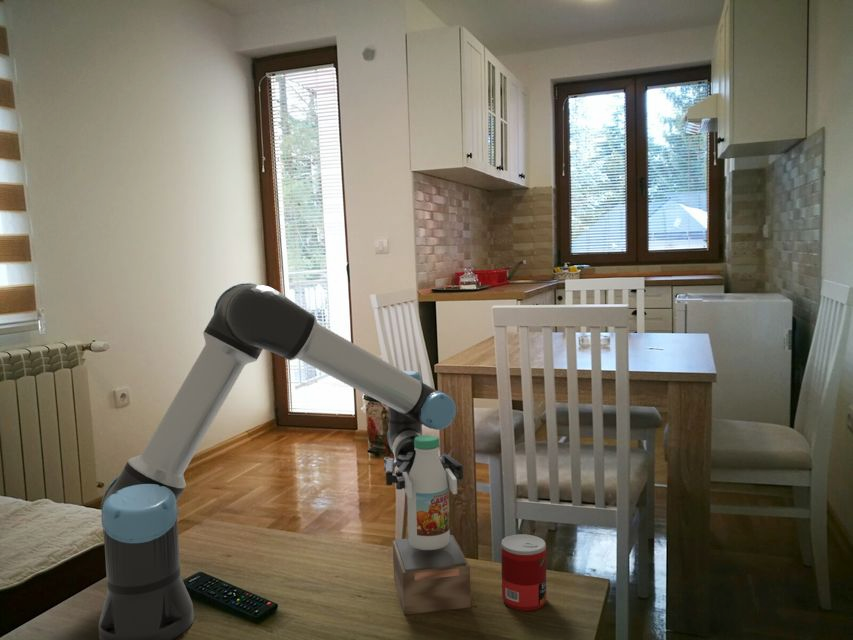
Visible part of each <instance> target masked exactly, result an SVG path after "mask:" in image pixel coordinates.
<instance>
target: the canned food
mask: <svg viewBox="0 0 853 640" xmlns="http://www.w3.org/2000/svg"><path fill="white" fill-rule="evenodd" d="M546 545H547V544H546V542H545V540H544V539H542V538H541V537H539V536H536V535H532V534H524V533H523V534H521V533H520V534H512V535H508V536H505V537H504V538H502V539H501V545H500V547H501V548H500V549H501V550H500V553H501V555H500V557H501V558H500V559H501V561H500V563H501V564H500V565H501V598H502V599H503V600H502V601H503V602H504V604H505V605H506V606H508V607H509V608H511V609H513V610H516V611H521V612H522V611H524V612H530V611H535V610H539V609H541V608H543V606H545V604H546V601H547V546H546Z"/></svg>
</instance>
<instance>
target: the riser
mask: <svg viewBox="0 0 853 640" xmlns="http://www.w3.org/2000/svg"><path fill="white" fill-rule="evenodd" d="M392 553H393V555H392V556H393V557H392V560H393V563H392V564H393V579H394V583H395V586H396V591H397V594H398V597H399V602H400V605H401V608H402V613H403V615H404V616H405V615H414V614H415V615H416V614H423V613H432V612H440V611H447V610H448V611H449V610H455V609H456V610H459V609H465V608H466V609H467V608H471V607H472V606H471V568H470V567H471V566H470V564H469V561H468V560H467V559H466V557H465V555H464V553H463V551H462V549H461V547H460V545H459V544H458V542H457V540H456V538H455V536H454V534H451V533H450V541H449V543H448V545H446V546H445V547H443V548H441V549H436V550H420V549H416V548H414V547H412V546H411V545H410V543H409V538H407V537H406V538H400V539H394V540H392Z"/></svg>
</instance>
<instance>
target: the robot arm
mask: <svg viewBox="0 0 853 640" xmlns="http://www.w3.org/2000/svg"><path fill="white" fill-rule="evenodd" d="M202 335H203V338H204V341H205V343H204V346H203V348H202V350H201V352H200V353H199V355H198V357H197V359H196V360H195V362H194V364H193V365H192V367H191V368H190V371H189V372H188V373H187V376H186V377H185V379H184V381H183V382H182V383H181V386H180V388H179V389H178V391H177V393H176V394H175V396H174V398H173V400H172V402H171V403H170V405H169V407H168V408H167V410H166V412H165V413H164V415H163V417H162V418H161V419H160V422H159V423H158V425H157V427H156V429H155V431H154V432H153V434H152V436H151V437H150V439H149V441H148V443H147V444H146V446H145V447H144V450H143V451H142V453H141V454H140V455H136V456H133V457H131V458H129V459H128V460H127V461H126V462H127V463H126V464H125V465H124V467H123V468H122V471H121V472H120V473H119V475H118V476H117V477H116V478H114V479H113V480H112V481H111V483H110V484H109V485H108V486H107V488H106V490H105V491H104V494H103V496H102V500H101V505H100V507H101V509H100V510H101V517H100V518H101V519H100V521H101V525H102V526H101V527H102V528H103V529H102V530H103V542H104V555H105V556H104V558H105V571H106V572H105V573H106V583H107V587H106V588H107V590H106V591H107V592H106V595H105V596H106V597H105V599H104V603H103V606H102V611H101V614H100V617H99V621H98V638H99V639H98V640H174V639H176V638H177V637H179V636H181V635H182V634H184V633H185V632H186V631H187V630H188V629H189V628H190V627H191V625H192V624H193V622H194V618H195V615H194V605H193V601H192V598H191V596H190V593H189V592H188V590H187V588H186V585H185V583H184V580H183V578H182V575H181V561H180V545H179V542H180V541H179V529H178V526H179V525H178V515H179V506H178V503H177V502H178V500H179V498H180V496H181V495H182V493H183V491H184V489H185V488H186V486H187V484H186V481H185V476H184V473H185V471H186V470H187V468H188V466H189V465H190V462H191V461H192V459H193V457H194V455H195V453H196V452H197V450H198V449H199V446H200V444H201V443H202V442H203V440H204V438H205V437H206V435H207V432H208V431H209V429H210V428H211V425H212V424H213V423H214V421H215V419H216V418H217V417H216V416H217V415H218V414H219V412H220V410H221V408H222V406H223V405H224V403H225V401H226V399H228V398H227V397H228V395H229V394H230V392H231V391H232V390H233V389H232V388H233V387H234V385H235V384H236V382H237V380H238V379H239V377H240V375H241V373H242V371H243V369H244V368H245V366H246V365H248V364H250V363H254V362H256V361H257V360H258V359H259V356H260V355H261V353H262V352H263V350H265V351H268V352H270V353H273V354H276V355H278V356H280V357H282V358H284V359H286V360H288V361H294V360H296V359H297V360H299V361H302V362H303V363H305V364H307V365H309V366H310V367H313V368H315V369H317V370H319V371H321V372H322V373H324V374H326V375H328V376H330V377H332V378H333V379H336V380H337V381H340V382H341V383H343V384H345V385H347V386H350V387H351V388H353V389H355V390H357V391H359V392H360V393H362V394H365V395H366V396H368V397H370V398H372V399H374V400H376V401H377V402H380V403H382V404H384V405H385V406H387V407H388V408H387V409H388V410H387V411H388V430H387V433H386V434H387V436H386V437H387V439H386V440H387V444H388V446H389V449H390V450H391V451H392V454H393V456H394V458H391V457H389V456H387V457H386V456H385V457H384V458H383V464H384V465H383V470H384V471H385V485H386V486H392V485H393V484H394V483H395V487H396V488H395V489H396V490H404V492H405V494H406V497H408V498H412V483H411V481H410V478H409V473H410V470H411V468H412V465H413V463H414V460H415V455H416V451H415V450H414V448H415V446H414V439H415V438H416V437H418V436H422V435H423V426H424V427H426V428H427V429H429V430H430V429H432V430H436V431H438V430H439V431H440V430H444V429H446V428H448V427H449V426H450V425H451V424H452V423H453V422H454V420H455V418H456V415H457V414H456V413H457V407H456V406H457V405H456V403H455V401H454V399H453V398H452V397H451V396H450V395H448V394H446V393H445V392H444V391H439V390H436V389H434V388H433V387H431V386H429V385H428V384H425V383H424V382H422V377H421V373H419V372H418V371H415V370H401V369H399V368H398V367H396V366H395V365H393V364H390V362H387V361H386V360H383V359H382V358H379V357H378V356H376V355H374V354H373V353H371V352H369V351H367V350H365V349H364V348H362V347H360V346H359V345H357V344H355V343H353V342H351V341H349V340H348V339H346V338H344V337H343V336H341V335H339V334H337V333H335V332H334V331H332V330H331V329H328V328H326V327H325V326H323V325H321V324H320V323H318V321H317V317H316V315H315V314H313V313H311V312H309V311H307V310H306V309H304V308H303V307H301V306H300V305H298V304H296V303H295V302H294V301H292V300H291V299H290V298H289V297H287V296H285V294H283V293H281V292H280V291H278V290H276V289H275V288H273V287H271V286H268V285H263V284H256V283H251V282H248V283H246V282H244V283H238V284H236V285H232V286H231V287H229V288H228V289H226V290H225V291H224V292H222V293H221V295H220V296H219V298H218V299H217V300H216V302H215V306H214V310H213V315H212V317H211V319H210V320H209V321H208V323H207V325H206V327H205V329H204V331H203V332H202ZM439 458H440V461H441V464H442V466H443V468H444V470H445V472H446V475H447V479H448V490H450V492H451V493H452V495H457V494H458V485H459V483H460V482H459V481H460V480H463V479H464V466H463V465H462V464H461V463H460V462H458V461H457V460H456V459H455V458H454V457H452V456H451V453H450V452H444V454H442V455H441V456H439ZM396 467H397V470H396V471H395V468H396ZM394 471H395V472H394Z"/></svg>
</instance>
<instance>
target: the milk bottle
mask: <svg viewBox="0 0 853 640" xmlns="http://www.w3.org/2000/svg"><path fill="white" fill-rule="evenodd" d="M414 446H415V448H414V450H415V451H416V455H415V460H414V463H413V465H412V468H411V470H410V473H409V478H410V481H411V483H412V498H408V497H407V496H406V497H407V501H406V502H407V534H408V535H407V536H408V538H409V543H410V545H411V546H412V547H414V548H416V549H420V550H436V549H441V548H443V547H445V546H446V545H448V543H449V541H450V534H451V530H450V499H449V497H450V496H449V495H450V494H449V490H450V489H449V487H448V479H447V475H446V472H445V470H444V468H443V466H442V464H441V461H440V458H439V457H440V455H439V450H440V438H439V437H438V436H437V435H432V434H431V435H430V434H424V435H423V434H422V436H418V437H416V438H415V439H414Z"/></svg>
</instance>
